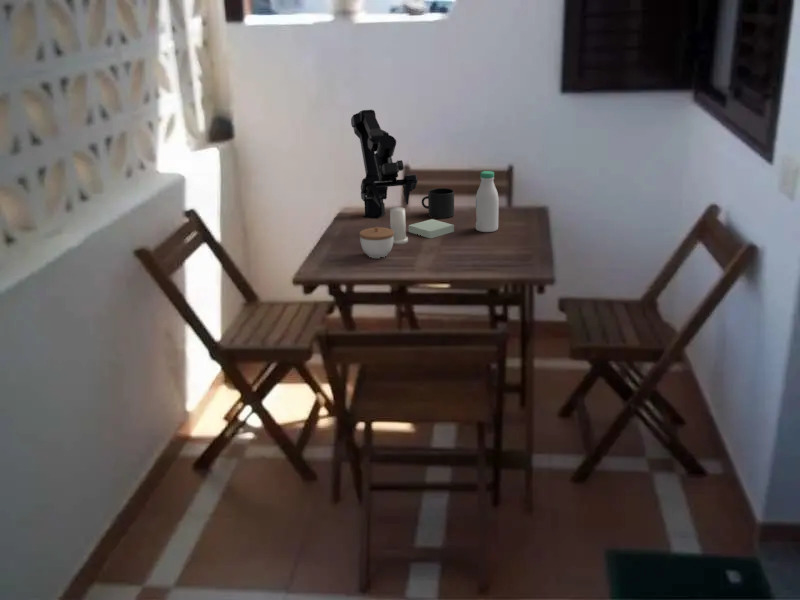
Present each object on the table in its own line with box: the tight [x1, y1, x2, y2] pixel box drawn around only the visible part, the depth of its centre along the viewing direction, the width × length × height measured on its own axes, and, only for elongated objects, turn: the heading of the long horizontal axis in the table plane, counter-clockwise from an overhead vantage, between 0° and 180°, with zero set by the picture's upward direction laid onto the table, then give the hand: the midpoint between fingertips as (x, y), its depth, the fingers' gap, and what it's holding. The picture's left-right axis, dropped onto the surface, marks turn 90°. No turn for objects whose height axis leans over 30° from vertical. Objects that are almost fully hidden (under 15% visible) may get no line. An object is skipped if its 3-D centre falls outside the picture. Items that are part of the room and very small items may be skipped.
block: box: [408, 218, 455, 239], centre depth 298 cm, size 11×11×2 cm
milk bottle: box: [475, 170, 499, 233], centre depth 296 cm, size 8×8×20 cm
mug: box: [421, 187, 455, 219], centre depth 317 cm, size 9×12×9 cm
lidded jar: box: [359, 226, 394, 259], centre depth 274 cm, size 11×11×9 cm
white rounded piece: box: [389, 206, 409, 245], centre depth 287 cm, size 6×6×11 cm
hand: (394, 205), depth 289 cm, fingers open, 9 cm apart
